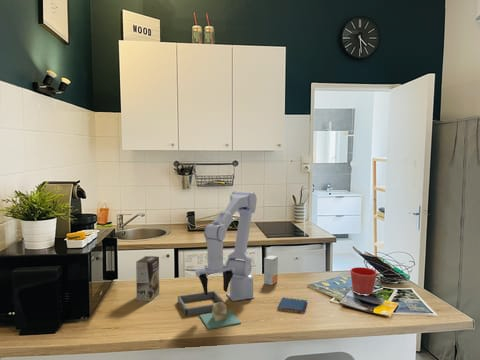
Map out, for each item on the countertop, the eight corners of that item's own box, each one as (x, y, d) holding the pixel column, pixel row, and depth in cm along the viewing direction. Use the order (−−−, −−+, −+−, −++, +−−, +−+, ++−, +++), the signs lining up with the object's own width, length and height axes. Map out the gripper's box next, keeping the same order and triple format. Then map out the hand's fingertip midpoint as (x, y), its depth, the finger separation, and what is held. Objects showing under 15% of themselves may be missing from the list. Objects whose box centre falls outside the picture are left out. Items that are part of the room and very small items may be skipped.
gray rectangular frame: (214, 296, 155) (214, 290, 154) (225, 309, 142) (225, 303, 142) (177, 302, 149) (177, 296, 149) (185, 316, 136) (185, 309, 136)
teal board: (230, 311, 140) (230, 309, 140) (240, 323, 130) (240, 322, 130) (199, 316, 136) (199, 315, 136) (208, 329, 126) (208, 328, 126)
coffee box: (150, 301, 150) (150, 262, 148) (136, 300, 151) (135, 261, 150) (160, 293, 158) (159, 256, 157) (146, 292, 160) (145, 255, 158)
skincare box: (272, 285, 167) (272, 259, 166) (263, 283, 170) (263, 258, 169) (277, 281, 172) (278, 256, 172) (269, 279, 175) (269, 254, 174)
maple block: (222, 315, 136) (222, 301, 136) (226, 319, 132) (226, 306, 132) (212, 316, 134) (212, 303, 134) (215, 321, 131) (215, 307, 130)
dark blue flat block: (281, 301, 151) (281, 296, 151) (307, 304, 148) (307, 299, 148) (276, 311, 141) (276, 306, 141) (304, 315, 138) (304, 310, 138)
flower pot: (378, 291, 160) (379, 269, 159) (372, 300, 151) (373, 276, 150) (354, 286, 166) (354, 265, 165) (346, 294, 156) (347, 272, 156)
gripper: (199, 261, 130) (199, 299, 131) (237, 257, 135) (237, 293, 136) (194, 256, 136) (194, 292, 137) (230, 252, 142) (231, 286, 143)
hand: (215, 292), depth 137 cm, fingers open, 7 cm apart
